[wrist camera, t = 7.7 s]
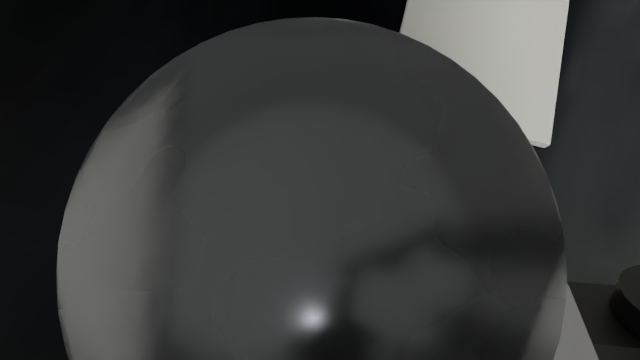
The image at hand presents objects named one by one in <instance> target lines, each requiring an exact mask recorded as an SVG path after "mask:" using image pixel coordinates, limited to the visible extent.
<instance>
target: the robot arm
mask: <svg viewBox="0 0 640 360" xmlns="http://www.w3.org/2000/svg"><path fill="white" fill-rule="evenodd" d="M553 360H640V265H639V266H633V267H630V268H627V269H626V270H624V271H623V272H622V273H621V275H620V277H619V279H618V282H617V284H616V285H604V284H589V283H575V282H567V284H566V306H565V312H564V317H563V323H562V329H561V334H560V340H559V343H558V346H557V350H556V353H555V356H554V359H553Z"/></svg>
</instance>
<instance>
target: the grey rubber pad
mask: <svg viewBox="0 0 640 360" xmlns="http://www.w3.org/2000/svg"><path fill="white" fill-rule="evenodd" d="M568 6H569V0H407V3H406V7H405V11H404V15H403V20H402V24H401V28H400V32H399V33H401V34H403V35H406V36H408V37H410V38H413V39H415V40H417V41H419V42H422V43H424V44H426V45H428V46H430V47H431V48H433V49H435V50H437V51H438V52H440V53H442V54H443V55H445V56H447V57H448V58H450V59H452V60H453V61H455V62H456V63H457V64H458V65H460V66H461V67H462V68H464V69H465V70H466V71H468V72H469V73H470V74H472V75H473V76H474V77H476V78H477V79H478V80H479V81H480V82H481V83H482V84H483V85H484V86H485V87H486V88H487V89H488V90H489V91H490V92H491V93H492V94H493V95H494V96H496V97H497V98H498V100H499V101H500V102H501V103H502V105H503V106H504V107H505V108H506V109H507V111H508V112H509V113H510V114H511V115H512V117H513V118H514V119H515V120H516V122H517V123H518V125H519V126H520V128H521V129H522V131H523V132H524V134H525V135H526V137H527V139H528V140H529V142H530V143H531V145H534V146H538V147H542V148H545V147H547V146H549V145H550V143H551V136H552V128H553V121H554V113H555V105H556V98H557V90H558V82H559V75H560V67H561V60H562V52H563V44H564V37H565V29H566V21H567V14H568Z"/></svg>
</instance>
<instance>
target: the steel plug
mask: <svg viewBox="0 0 640 360" xmlns="http://www.w3.org/2000/svg"><path fill="white" fill-rule="evenodd" d="M56 284H57V300H58V314H59V319H60V324H61V329H62V334H63V339H64V344H65V348H66V351H67V354H68V357H69V360H553V359H554V356H555V353H556V350H557V346H558V343H559V340H560V334H561V329H562V323H563V317H564V312H565V306H566V284H567V265H566V253H565V241H564V235H563V230H562V225H561V220H560V216H559V211H558V206H557V203H556V201H555V198H554V195H553V192H552V189H551V186H550V183H549V180H548V177H547V175H546V173H545V171H544V169H543V167H542V164H541V162H540V160H539V158H538V156H537V154H536V152H535V150H534V148H533V146H532V145H531V143H530V142H529V140H528V139H527V137H526V135H525V134H524V132H523V131H522V129H521V128H520V126H519V125H518V123H517V122H516V120H515V119H514V118H513V117H512V115H511V114H510V113H509V112H508V111H507V109H506V108H505V107H504V106H503V105H502V103H501V102H500V101H499V100H498V98H497V97H496V96H494V95H493V94H492V93H491V92H490V91H489V90H488V89H487V88H486V87H485V86H484V85H483V84H482V83H481V82H480V81H479V80H478V79H477V78H476V77H474V76H473V75H472V74H470V73H469V72H468V71H466V70H465V69H464V68H462V67H461V66H460V65H458V64H457V63H456V62H455V61H453V60H452V59H450V58H448V57H447V56H445V55H443V54H442V53H440V52H438V51H437V50H435V49H433V48H431V47H430V46H428V45H426V44H424V43H422V42H419V41H417V40H415V39H413V38H410V37H408V36H406V35H403V34H401V33H399V32H395V31H392V30H389V29H386V28H382V27H379V26H376V25H373V24H368V23H362V22H357V21H351V20H346V19H335V18H321V17H307V18H286V19H280V20H274V21H268V22H262V23H256V24H253V25H249V26H246V27H242V28H239V29H235V30H232V31H228V32H226V33H224V34H221V35H219V36H217V37H214V38H212V39H209V40H207V41H205V42H202V43H200V44H199V45H197V46H195V47H193V48H191V49H190V50H188V51H186V52H184V53H183V54H181V55H179V56H177V57H176V58H174V59H173V60H171V61H170V62H169V63H167V64H166V65H165V66H163V67H162V68H160V69H159V70H158V71H156V72H155V73H154V74H152V75H151V76H150V77H149V78H148V79H147V80H146V81H144V82H143V83H142V84H141V85H140V86H139V87H138V88H137V89H136V90H135V91H134V92H133V93H132V94H131V95H130V96H128V98H127V99H126V100H125V101H124V102H123V103H122V105H121V106H120V107H119V108H118V109H117V111H116V112H115V113H114V114H113V115H112V117H111V118H110V119H109V120H108V121H107V123H106V125H105V126H104V128H103V129H102V131H101V132H100V134H99V135H98V137H97V138H96V140H95V141H94V143H93V145H92V146H91V148H90V150H89V152H88V154H87V156H86V158H85V160H84V162H83V164H82V166H81V168H80V170H79V172H78V174H77V176H76V179H75V182H74V185H73V188H72V191H71V194H70V197H69V199H68V202H67V205H66V208H65V213H64V218H63V223H62V228H61V233H60V237H59V242H58V257H57V271H56Z"/></svg>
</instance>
